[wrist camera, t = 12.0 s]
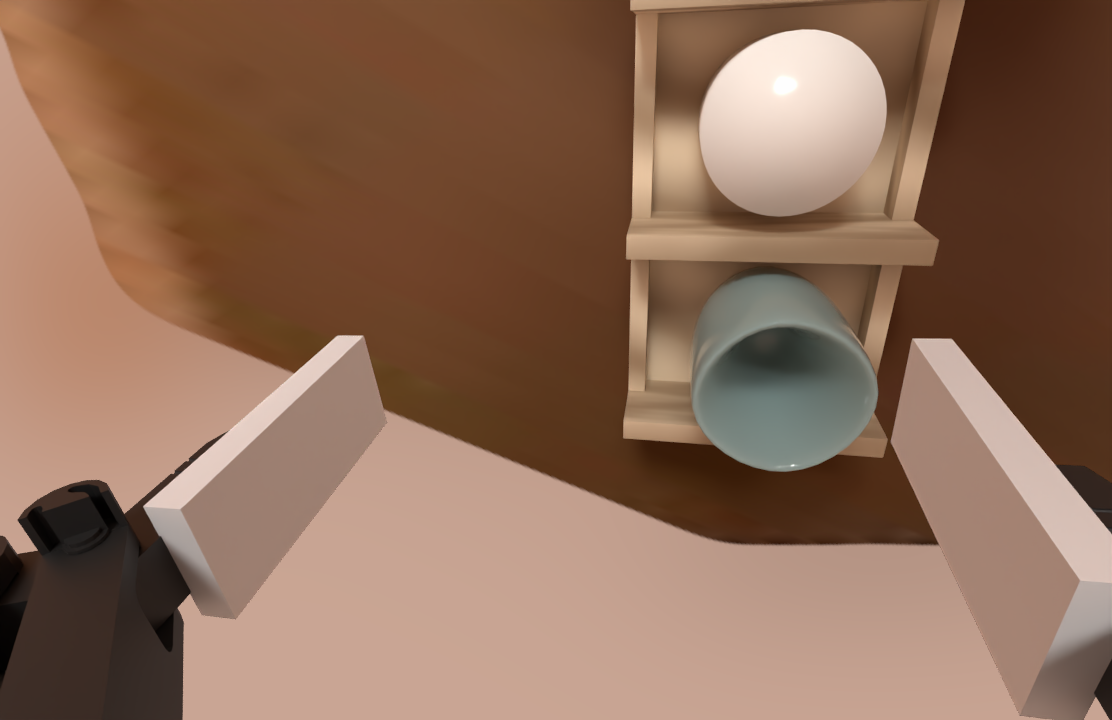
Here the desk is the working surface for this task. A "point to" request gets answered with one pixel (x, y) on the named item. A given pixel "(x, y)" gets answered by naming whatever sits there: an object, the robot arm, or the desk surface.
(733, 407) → the cup
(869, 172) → the rack
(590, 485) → the desk surface
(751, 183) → the white rounded piece
